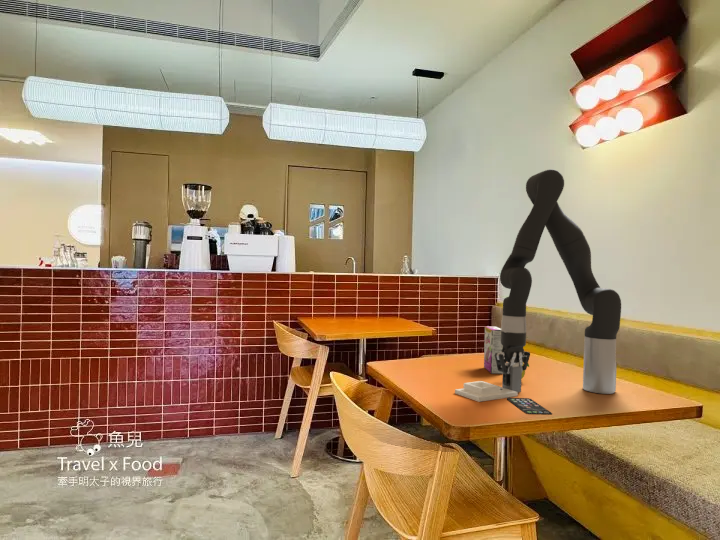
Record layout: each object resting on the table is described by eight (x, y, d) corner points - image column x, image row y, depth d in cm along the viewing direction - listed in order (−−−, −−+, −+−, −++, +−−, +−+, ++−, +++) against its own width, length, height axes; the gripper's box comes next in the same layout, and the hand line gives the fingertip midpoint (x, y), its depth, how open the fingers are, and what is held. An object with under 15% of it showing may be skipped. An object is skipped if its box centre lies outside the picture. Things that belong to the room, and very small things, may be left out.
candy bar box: (482, 367, 185) (484, 325, 185) (495, 368, 185) (497, 326, 185) (490, 373, 173) (491, 329, 174) (504, 374, 173) (505, 329, 173)
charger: (511, 389, 151) (511, 361, 151) (521, 392, 148) (521, 363, 148) (502, 390, 149) (503, 362, 149) (512, 393, 146) (513, 364, 146)
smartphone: (526, 413, 124) (505, 397, 139) (526, 415, 124) (505, 399, 139) (553, 413, 124) (530, 398, 139) (553, 416, 124) (530, 400, 139)
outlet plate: (492, 388, 151) (493, 378, 151) (517, 396, 143) (517, 385, 143) (454, 393, 143) (455, 382, 143) (478, 401, 134) (479, 390, 134)
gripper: (519, 328, 155) (517, 380, 155) (488, 329, 148) (486, 384, 148) (538, 331, 149) (536, 385, 149) (506, 332, 142) (504, 389, 142)
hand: (511, 384), depth 148 cm, fingers closed on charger, 4 cm apart
